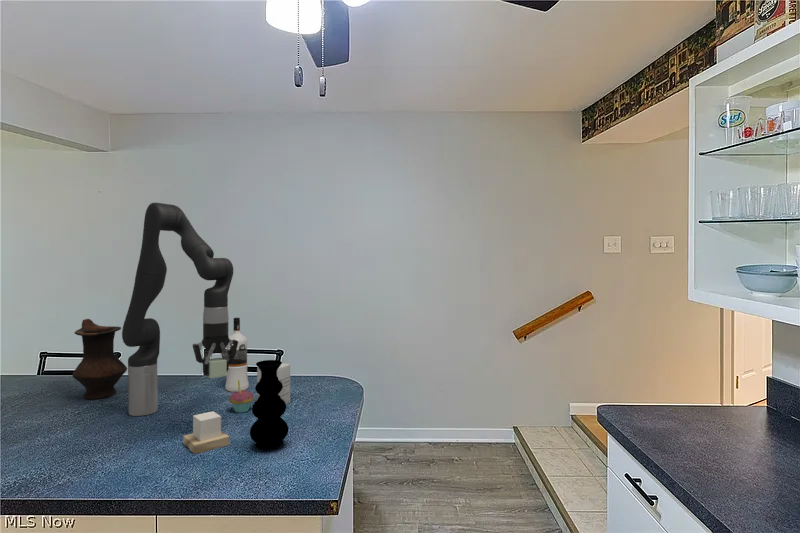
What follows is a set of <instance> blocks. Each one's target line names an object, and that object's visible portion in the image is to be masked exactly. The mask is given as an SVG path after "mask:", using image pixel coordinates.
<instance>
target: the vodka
mask: <svg viewBox="0 0 800 533" xmlns="http://www.w3.org/2000/svg"><path fill="white" fill-rule="evenodd" d="M228 337H229V339H230V340H233V339H234V340H237V341H238V345H237V349H236V354H235V358H234V359H231V360H229V370H228V371H227V376H226V380H225V386H224V387H225V388H224V389H225V390H226V391H227V392H229V393H235V392H237V391H239V389H238V379H239V381H240V390H245V391H247V390H248V388H250V384H249V383H250V382H249V377H248V338H247V336H245V335H243V334H242V333H241V318H240V317H233V334H231V335H230V336H228ZM230 347H231V346H230V343H229V344H228V345H227V347H226V351H227V355H229V351H230Z"/></svg>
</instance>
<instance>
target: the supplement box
mask: <svg viewBox="0 0 800 533" xmlns="http://www.w3.org/2000/svg"><path fill="white" fill-rule="evenodd" d="M256 367H257V366H256ZM256 372H257V374H256V376H257V379H256V384H257V383H258V382H259V381H260V378H261V370H260V369H259V368H258V367H257V368H256ZM277 377H278V380H279V381H280V382H281V383H282V385H283V388H282V390H281V392H280V393H279V394H278V395H279V396H280V398H281V399H282V400H284V402H285V403H286V405H288V404H291V364H290V363H283V362H282V364H281V365H280V367H279V368H278V370H277ZM256 393H257V392H256ZM256 396H257V397H256V398H257V399H256V401H257V400H258V397H260V395H259V394H258V393H257V395H256Z"/></svg>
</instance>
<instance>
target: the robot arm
mask: <svg viewBox="0 0 800 533" xmlns="http://www.w3.org/2000/svg"><path fill="white" fill-rule="evenodd" d="M142 230H143V231H142V241H141V248H140V254H139V258H138V259H139V260H138V262H137V267H136V268H137V269H136V271H135V276H134V277H135V278H134V284H133V288H132V289H133V290H132V294H131V298H130V303H129V306H128V309H127V312H126V316H125V318H124V322H123V324H122V325H123V326H122V328H121V330H122V331H121V338H122V343H123V344H124V345H125V346H127V347H129V348H136V347H138V349H137V350H136V351H135V352H134V353H133V354H131V355H130V356H129V357H128V359H127V374H128V375H127V376H128V377H127V382H128V383H127V386H128V387H127V388H128V389H127V390H128V391H127V392H128V399H127V400H128V415H129V416H133V417H134V416H135V417H141V416H147V415H151V414H155V413H157V412H158V410H159V409H158V408H159V406H158V405H159V404H158V402H159V399H158V397H159V395H158V386H159V385H158V383H159V382H158V358H159V356H160V348H161V346H160V344H161V329H160V325H159V322H158V321H157V320H156V319H154V318H151V317H150V318H145V317H146V315H147V311H148V309H149V308H150V306H151V305H152V304H153V302H154V301H155V300H156V299H157V297H158V296H159V294H161V292H162V290H163V288H164V286H165V282H166V276H167V272H168V269H167V268H168V267H167V263H166V261H165V258H164V256H163V254H162V251H161V248H160V242H159V240H160V233H161V231H163V232H174V233H175V234H177V235H178V236H180V246H181V250H183V252H184V253H185V255H186V256H187V258H189V259H190V260H191V261H192V262H193V265H194V267H195V270H196V273H197V274H198V275H199V277H200V278H201V279H203V280H205V281H215V282H214V285H213V286H212V287H209V288H206V289H205V290H204V292H203V312H202V313H203V314H202V316H203V318H202V340H201V342H198V343H193V344H192V349H193V353H194V357H195V361H196V362H198V363H199V364H202V374H204V376H206V377H207V376H209V364H208V363H209V360H210V359H211V358H212V355H213V354H216V353H219V354H220V355H221V358H223V359H225V360H227V371H228V370H229V360H231V359H234V358H235V354H236V349H237V345H238V341H237V340H234V339H233V340H230V339H229V337H230V336H229V318H230V317H229V308H228V304H229V301H228V300H229V297H228V295H229V294H228V293H229V290H230V287H231V283H232V280H233V276H234V265H233V263H232V261H231V260H230V259H229V258H227V257H214V256H215V255H214V254H215V253H214V249H212V247H211V246H210V245H209V244H208V243H207V242H206V241H205V240H203V238H202V237H201V236H200V235H199V234H198V233H197V231H196V230H195V228H194V227H193V225H192V223H191V222H190V220H189V219H188V217H187V216H186V213H185V212H184V211H183V210H182V209H181V208H180V207H179V206H177V205H174V204H169V203H163V202H162V203H161V202H151V203H149V204H148V206H147V208H146V211H145V214H144V220H143V229H142ZM229 343H230V346H231V347H230V351H229V355H227V349H226V347H227V345H228V344H229ZM202 346H203V348H204V349H205V351H204V353H203V356H202V354H201V353H202V352H201V350H202Z"/></svg>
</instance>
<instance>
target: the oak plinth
mask: <svg viewBox="0 0 800 533" xmlns="http://www.w3.org/2000/svg"><path fill="white" fill-rule="evenodd" d="M182 444H183V445H184V446H185V445H186V446H187V447H188V448H189V449H188V448H187V447H186V446H185V447H186V448H187V449H188V450H190V451H191V452H192V453H193V454H194V455H198V454H201V453H204V452H208V451H209V452H210V451H213V450H216V449H219V448H223V447H227V446H230V435H228V434H227V433H225V432H223V431H222V430H221V437H217V438H213V439H209V440H205V441H201V442H200V441H199V440H198V439H197V438H196V437H194V436H193V432H192V433H189V434H183V435H182ZM212 449H213V450H212ZM197 453H198V454H197Z"/></svg>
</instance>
